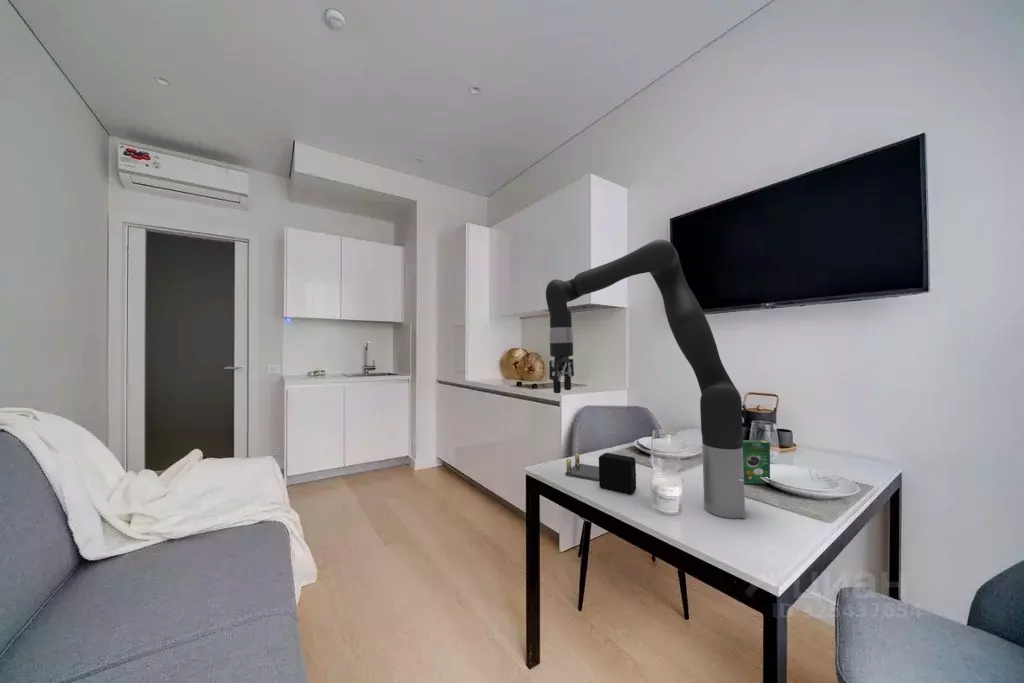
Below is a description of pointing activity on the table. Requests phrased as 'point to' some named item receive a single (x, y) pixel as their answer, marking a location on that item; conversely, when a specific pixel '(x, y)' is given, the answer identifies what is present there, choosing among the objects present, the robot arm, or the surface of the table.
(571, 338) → the robot arm
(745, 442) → the coffee box
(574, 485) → the table surface
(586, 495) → the table surface
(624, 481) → the electronic device
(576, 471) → the chassis
